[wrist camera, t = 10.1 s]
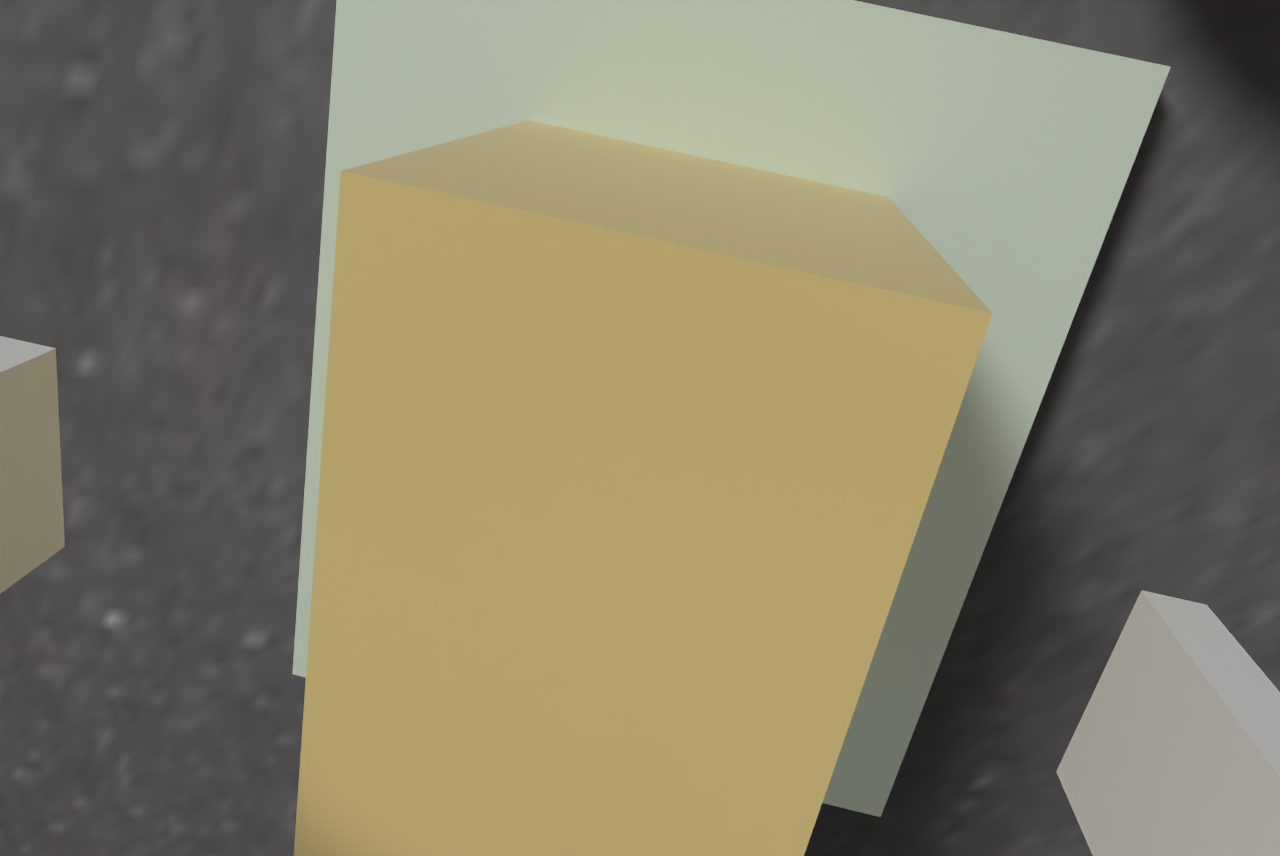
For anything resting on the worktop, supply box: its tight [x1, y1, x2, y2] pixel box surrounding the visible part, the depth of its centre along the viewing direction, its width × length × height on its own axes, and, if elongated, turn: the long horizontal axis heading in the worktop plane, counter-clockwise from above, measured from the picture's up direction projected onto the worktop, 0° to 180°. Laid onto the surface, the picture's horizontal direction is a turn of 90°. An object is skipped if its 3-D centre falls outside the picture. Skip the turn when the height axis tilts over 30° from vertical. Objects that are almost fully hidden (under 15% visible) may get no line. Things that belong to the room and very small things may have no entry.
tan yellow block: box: [294, 120, 993, 856], centre depth 13 cm, size 6×9×7 cm, turn 169°
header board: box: [293, 0, 1170, 817], centre depth 15 cm, size 12×14×5 cm
